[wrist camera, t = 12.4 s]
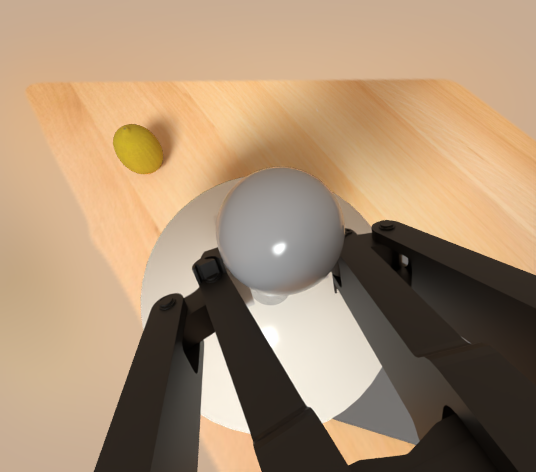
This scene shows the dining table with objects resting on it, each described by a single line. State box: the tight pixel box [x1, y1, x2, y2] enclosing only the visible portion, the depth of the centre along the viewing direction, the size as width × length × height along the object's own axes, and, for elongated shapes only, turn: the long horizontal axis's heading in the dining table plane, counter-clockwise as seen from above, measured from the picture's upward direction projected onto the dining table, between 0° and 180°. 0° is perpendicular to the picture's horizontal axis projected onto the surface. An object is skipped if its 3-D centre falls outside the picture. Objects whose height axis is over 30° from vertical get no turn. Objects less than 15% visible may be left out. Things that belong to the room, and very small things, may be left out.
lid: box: [141, 167, 382, 434], centre depth 13 cm, size 18×18×13 cm
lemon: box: [113, 124, 163, 174], centre depth 34 cm, size 6×6×8 cm
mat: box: [332, 255, 471, 445], centre depth 30 cm, size 22×22×1 cm
